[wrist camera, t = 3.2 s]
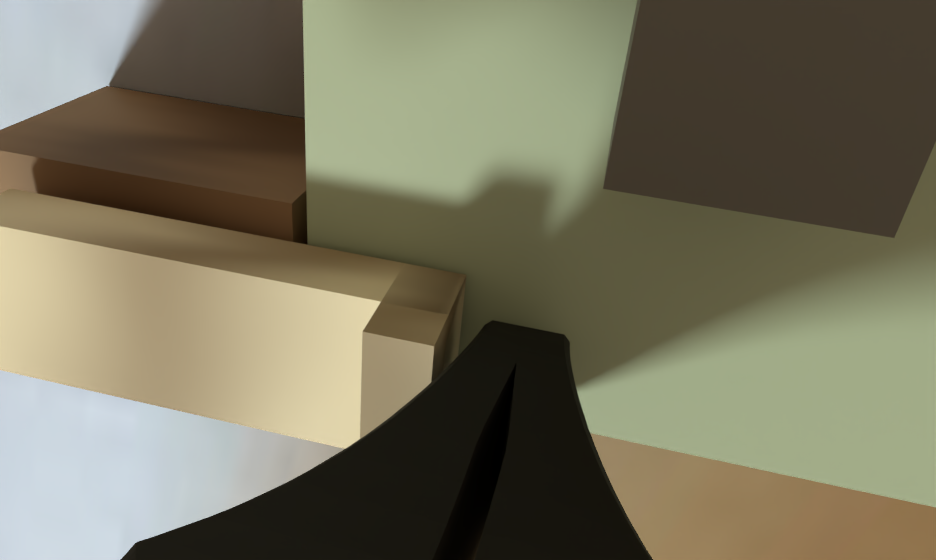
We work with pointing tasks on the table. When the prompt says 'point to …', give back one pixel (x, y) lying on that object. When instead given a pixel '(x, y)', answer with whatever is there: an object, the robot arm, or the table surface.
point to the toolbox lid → (662, 206)
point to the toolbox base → (166, 160)
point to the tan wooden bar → (219, 319)
